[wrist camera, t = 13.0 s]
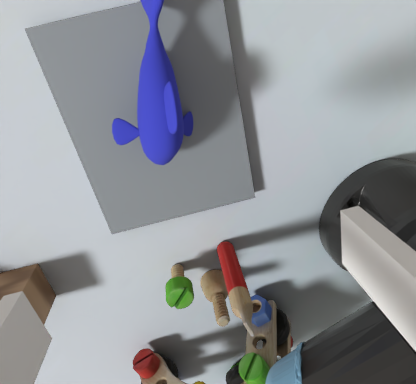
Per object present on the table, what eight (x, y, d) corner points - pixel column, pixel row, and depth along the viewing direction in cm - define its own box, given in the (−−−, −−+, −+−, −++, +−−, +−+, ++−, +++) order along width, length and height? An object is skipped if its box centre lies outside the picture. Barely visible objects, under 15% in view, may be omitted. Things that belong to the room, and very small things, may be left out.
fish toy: (187, 150, 32) (220, 173, 27) (113, 162, 29) (132, 190, 23) (183, -24, 25) (226, -42, 20) (87, -34, 22) (105, -59, 17)
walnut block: (38, 263, 35) (20, 295, 31) (56, 295, 37) (42, 329, 33) (-6, 274, 35) (-31, 307, 30) (15, 305, 37) (-5, 341, 33)
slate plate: (218, -15, 26) (220, -17, 25) (252, 192, 35) (255, 197, 34) (30, 29, 26) (24, 28, 24) (113, 228, 34) (112, 234, 33)
